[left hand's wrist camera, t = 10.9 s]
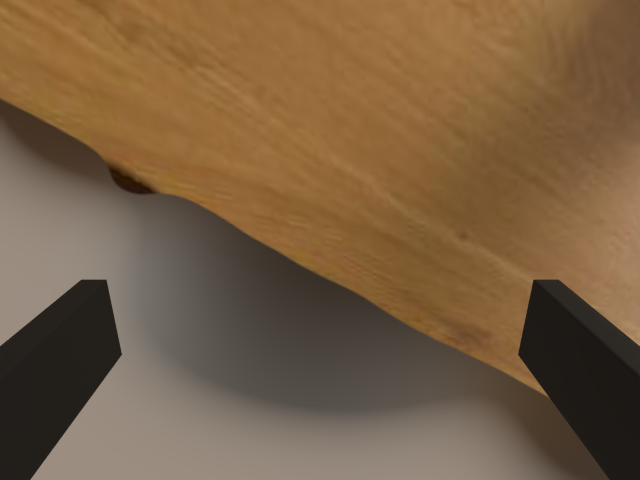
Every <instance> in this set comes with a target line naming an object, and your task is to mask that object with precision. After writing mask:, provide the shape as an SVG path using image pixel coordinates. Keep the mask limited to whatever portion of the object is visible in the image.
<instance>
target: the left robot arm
mask: <svg viewBox="0 0 640 480" xmlns="http://www.w3.org/2000/svg"><path fill="white" fill-rule="evenodd" d="M121 355H122V353H121V348H120V343H119V339H118V334H117V329H116V324H115V319H114V314H113V309H112V305H111V300H110V295H109V290H108V285H107V281H106V280H81V281H79V282H78V283H77V284H76V285H74V286H73V287H72V288H71V289H70V290H68V291H67V292H66V293H65V294H63V295H62V296H61V297H60V298H59V299H57V300H56V301H55V302H54V303H52V304H51V305H50V306H49V307H48V308H46V309H45V310H44V311H43V312H42V313H40V314H39V315H38V316H37V317H35V318H34V319H33V320H32V321H31V322H29V323H28V324H27V325H26V326H24V327H23V328H22V329H21V330H20V331H18V332H17V333H16V334H15V335H13V336H12V337H11V338H10V339H9V340H7V341H6V342H5V343H4V344H2V345H1V346H0V480H30V479H31V478H32V477H33V475H34V474H35V473H36V471H37V470H38V468H39V467H40V466H41V464H42V463H43V462H44V460H45V459H46V458H47V456H48V455H49V453H50V452H51V451H52V449H53V448H54V447H55V445H56V444H57V442H58V441H59V440H60V438H61V437H62V436H63V434H64V433H65V432H66V430H67V429H68V427H69V426H70V425H71V423H72V422H73V421H74V419H75V418H76V416H77V415H78V414H79V412H80V411H81V410H82V408H83V407H84V406H85V404H86V403H87V402H88V400H89V399H90V397H91V396H92V395H93V393H94V392H95V391H96V389H97V388H98V386H99V385H100V384H101V382H102V381H103V380H104V378H105V377H106V375H107V374H108V373H109V371H110V370H111V369H112V367H113V366H114V365H115V363H116V362H117V361H118V359H119V358H120V356H121ZM518 355H519V356H520V358H521V359H522V361H523V362H524V363H525V365H526V366H527V367H528V369H529V370H530V371H531V373H532V374H533V376H534V377H535V378H536V380H537V381H538V382H539V384H540V385H541V387H542V388H543V389H544V391H545V392H546V393H547V395H548V396H549V397H550V399H551V400H552V402H553V403H554V404H555V406H556V407H557V408H558V410H559V411H560V412H561V414H562V415H563V417H564V418H565V419H566V421H567V422H568V423H569V425H570V426H571V427H572V429H573V430H574V431H575V433H576V434H577V436H578V437H579V438H580V440H581V441H582V442H583V444H584V445H585V447H586V448H587V449H588V451H589V452H590V453H591V455H592V456H593V457H594V459H595V460H596V462H597V463H598V464H599V466H600V467H601V468H602V470H603V471H604V473H605V474H606V475H607V477H608V478H609V479H610V480H640V346H639V345H638V344H636V343H635V342H634V341H633V340H631V339H630V338H629V337H628V336H627V335H625V334H624V333H623V332H622V331H620V330H619V329H618V328H617V327H616V326H614V325H613V324H612V323H611V322H609V321H608V320H607V319H606V318H605V317H603V316H602V315H601V314H600V313H599V312H597V311H596V310H595V309H594V308H592V307H591V306H590V305H589V304H588V303H586V302H585V301H584V300H583V299H581V298H580V297H579V296H578V295H577V294H575V293H574V292H573V291H572V290H570V289H569V288H568V287H567V286H566V285H564V284H563V283H562V282H561V281H559V280H533V285H532V290H531V295H530V300H529V305H528V309H527V314H526V319H525V324H524V329H523V334H522V338H521V343H520V348H519V353H518Z"/></svg>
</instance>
